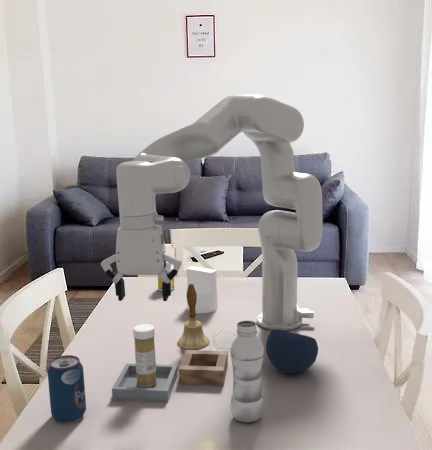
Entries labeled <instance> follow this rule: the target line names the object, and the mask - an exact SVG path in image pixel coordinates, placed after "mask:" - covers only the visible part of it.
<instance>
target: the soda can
mask: <svg viewBox="0 0 432 450" xmlns="http://www.w3.org/2000/svg"><path fill="white" fill-rule="evenodd" d="M84 374H85V373H84V366H83V364H82V363H81V360H80V358H79V357H78V356H76V355H72V354H71V355H69V354H66V355H60V356H58V357H55V358H53V359H52V360H50V361H49V367H48V369H47V381H48V383H47V384H48V392H49V393H48V395H49V406H50V413H51V416H52V418H53V419H54V420H55V421H56V422H57V423H59V424H72V423H76V422H77V421H80V420H81V419H82V418H83V417H84V414H85V413H86V411H87V398H86V387H85V386H86V385H85V375H84Z"/></svg>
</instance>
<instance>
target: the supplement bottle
mask: <svg viewBox="0 0 432 450" xmlns="http://www.w3.org/2000/svg"><path fill="white" fill-rule="evenodd" d="M165 268H166V269H167V271H168V272H169V273H170V272H171V271H172V270H173V268H174V266H173V264H171V263H169V262H167V266H166V267H165ZM162 283H163V280H162V279H161V278H160V277H159V276H158V275H157V288H158V290H159V291H160V292H162ZM173 290H175V277H174V278H173V279H172V280H171V292H172V291H173Z"/></svg>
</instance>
